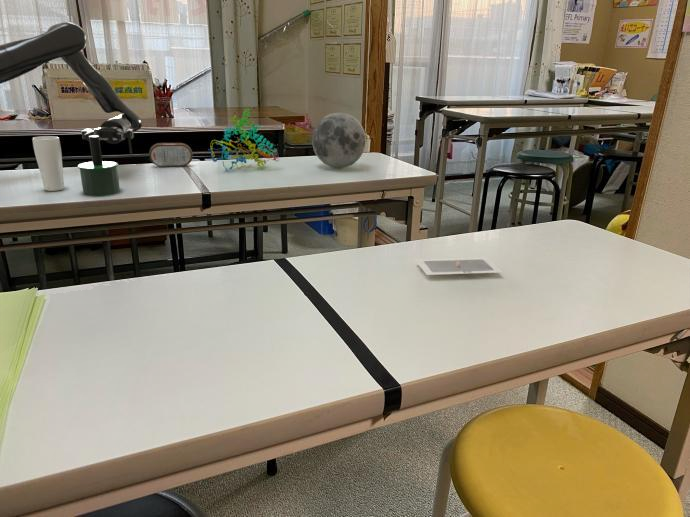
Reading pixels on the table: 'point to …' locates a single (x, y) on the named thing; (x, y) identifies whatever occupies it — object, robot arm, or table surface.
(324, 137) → the moon model
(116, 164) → the tin lid
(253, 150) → the molecular model
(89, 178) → the can
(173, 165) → the tin
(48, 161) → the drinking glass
